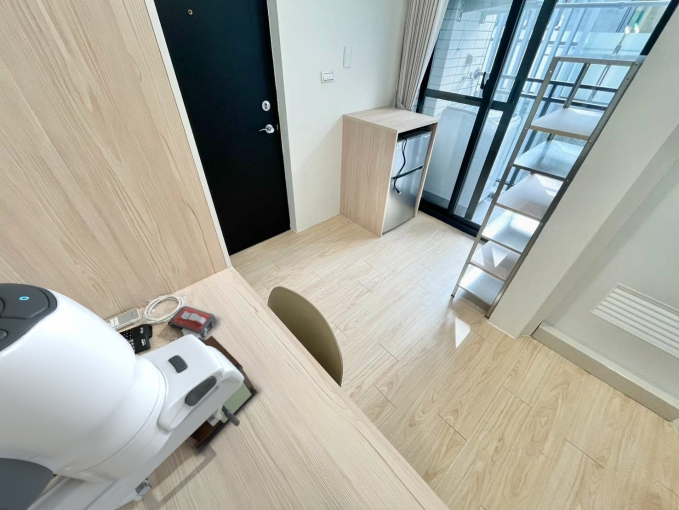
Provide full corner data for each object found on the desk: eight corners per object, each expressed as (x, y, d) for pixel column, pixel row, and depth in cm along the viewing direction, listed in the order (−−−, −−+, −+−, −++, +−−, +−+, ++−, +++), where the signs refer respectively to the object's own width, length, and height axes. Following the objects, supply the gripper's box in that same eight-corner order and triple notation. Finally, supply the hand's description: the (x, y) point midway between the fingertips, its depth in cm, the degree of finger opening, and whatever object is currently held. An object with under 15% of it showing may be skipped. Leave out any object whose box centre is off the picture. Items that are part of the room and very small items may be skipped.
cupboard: (200, 453, 59) (167, 435, 48) (174, 417, 64) (139, 393, 53) (258, 392, 68) (241, 365, 57) (231, 365, 73) (211, 335, 62)
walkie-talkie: (164, 332, 80) (221, 352, 75) (157, 324, 77) (216, 345, 72) (185, 308, 86) (239, 326, 81) (179, 300, 83) (235, 318, 78)
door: (235, 436, 60) (216, 419, 51) (222, 421, 62) (202, 402, 53) (262, 406, 64) (249, 385, 55) (250, 393, 66) (235, 371, 57)
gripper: (-36, 594, 17) (98, 573, 27) (235, 356, 29) (260, 400, 38) (-48, 509, 20) (76, 517, 30) (203, 323, 32) (234, 372, 41)
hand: (181, 450), depth 34 cm, fingers open, 8 cm apart
